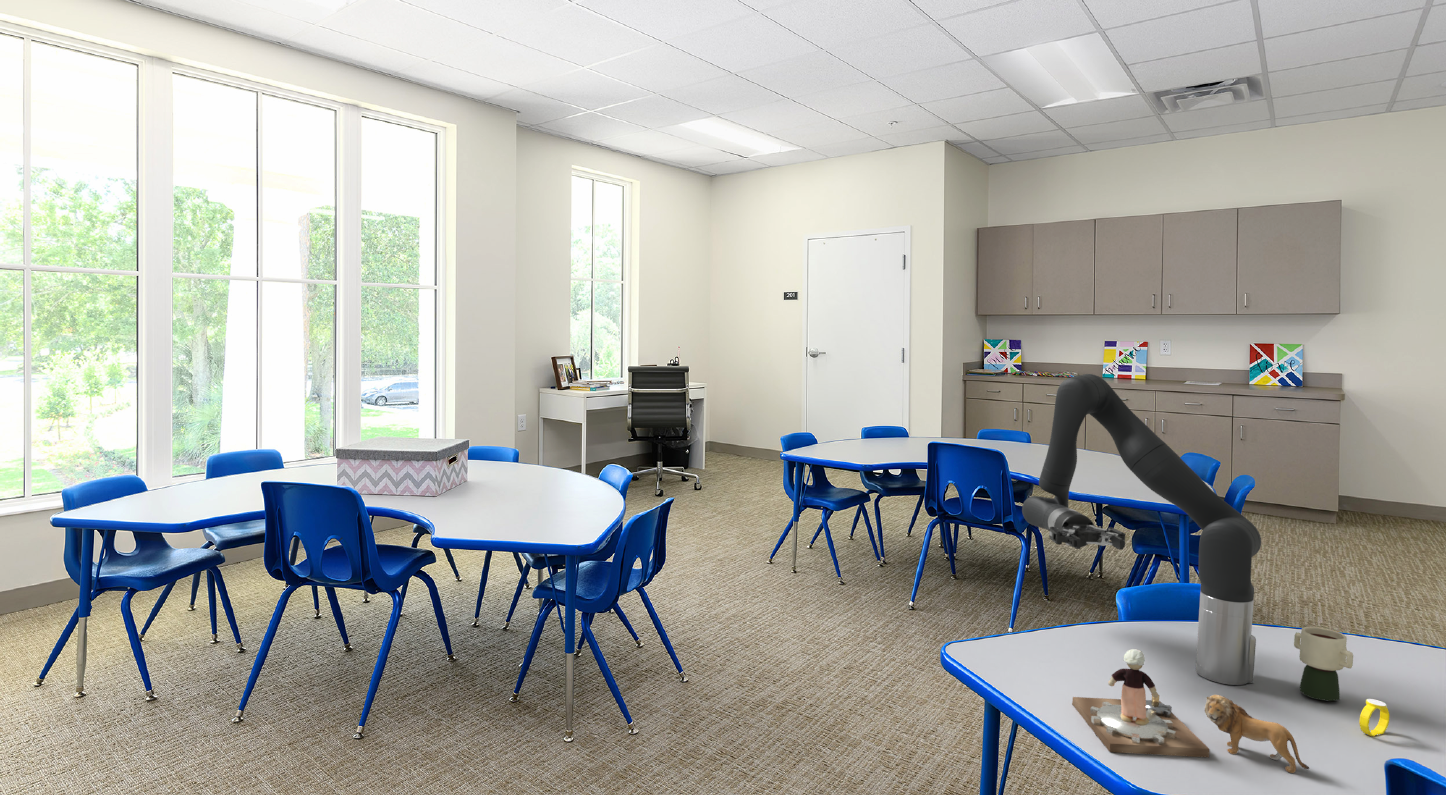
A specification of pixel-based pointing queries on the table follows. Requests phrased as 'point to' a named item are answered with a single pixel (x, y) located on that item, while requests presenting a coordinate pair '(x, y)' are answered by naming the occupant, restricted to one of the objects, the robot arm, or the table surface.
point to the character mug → (1322, 661)
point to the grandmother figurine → (1134, 687)
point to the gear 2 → (1158, 707)
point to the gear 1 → (1132, 724)
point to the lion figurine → (1250, 729)
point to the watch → (1367, 714)
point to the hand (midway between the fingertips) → (1100, 544)
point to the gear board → (1180, 746)
